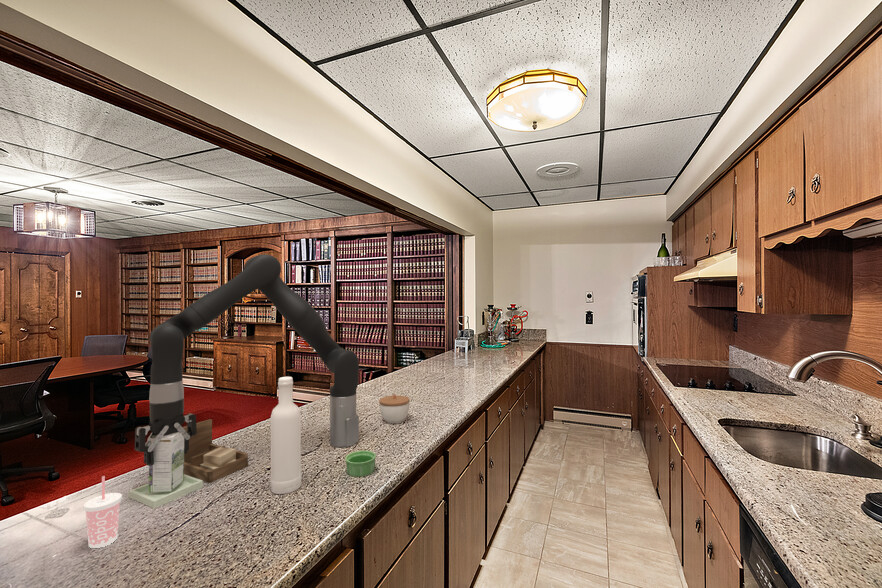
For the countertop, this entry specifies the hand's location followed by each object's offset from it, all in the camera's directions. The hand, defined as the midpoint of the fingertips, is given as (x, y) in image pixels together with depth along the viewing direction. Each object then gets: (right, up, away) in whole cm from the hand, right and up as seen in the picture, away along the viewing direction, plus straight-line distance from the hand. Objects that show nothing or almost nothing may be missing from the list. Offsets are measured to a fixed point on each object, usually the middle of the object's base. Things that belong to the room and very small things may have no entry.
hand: (167, 458), depth 102 cm
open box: (+3, -9, +14) cm, 17 cm away
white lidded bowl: (+54, -9, +57) cm, 79 cm away
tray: (0, -9, 0) cm, 9 cm away
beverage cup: (+2, -9, -21) cm, 23 cm away
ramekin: (+50, -9, +11) cm, 52 cm away
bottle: (+31, -9, +2) cm, 33 cm away
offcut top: (+7, -6, +13) cm, 16 cm away
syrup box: (0, -8, 0) cm, 8 cm away
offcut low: (+7, -9, +12) cm, 17 cm away
